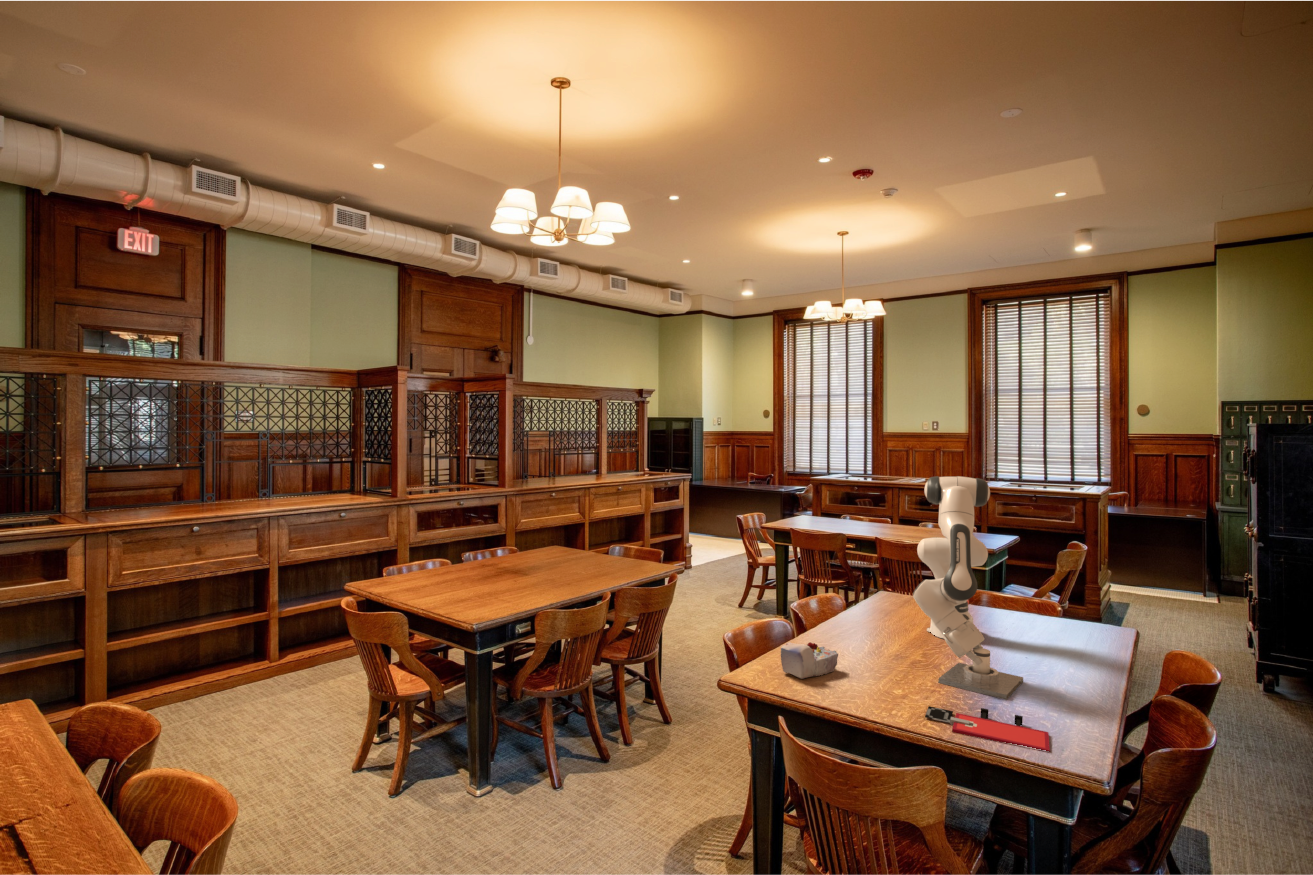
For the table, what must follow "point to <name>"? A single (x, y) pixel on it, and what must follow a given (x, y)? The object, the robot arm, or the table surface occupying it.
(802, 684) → the table surface
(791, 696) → the table surface
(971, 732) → the red board with handle
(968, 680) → the ring mount
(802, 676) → the cell model
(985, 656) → the banded peg cylinder
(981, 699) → the table surface
